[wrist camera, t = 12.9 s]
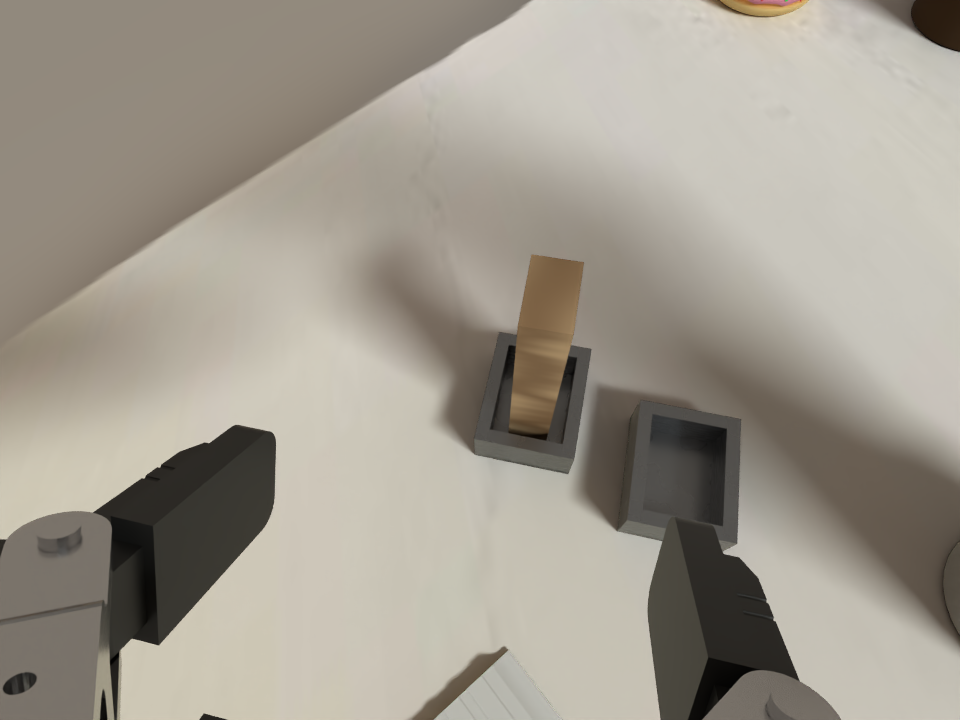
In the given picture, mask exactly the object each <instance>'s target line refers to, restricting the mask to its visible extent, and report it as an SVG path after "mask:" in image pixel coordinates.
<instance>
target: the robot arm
mask: <svg viewBox="0 0 960 720" xmlns="http://www.w3.org/2000/svg"><path fill="white" fill-rule="evenodd" d="M275 460H276V439H275V436H274V434H273V433H272V432H269V431H265V430H260V429H255V428H250V427H245V426H241V425H234V426H232V427H231V428H230V429H228V430H227V431H225V432H224V433H223V434H221V435H220V436H219V437H217V438H216V439H215V440H213V441H212V442H211V443H202V444H200V445H197V446H194V447H191V448H189V449H186V450H183V451H180V452H179V453H177V454H176V455H174V456H173V457H172V458H170V459H169V460H167V461H166V462H164V463H163V464H162V465H161V467H160V468H158V467H157V468H156V469H154V470H153V471H152V472H150V473H149V474H147V475H146V477H145V479H140V480H139V481H137V482H136V483H134V484H133V485H132V486H130V487H129V488H127V489H126V490H125V491H123V492H122V493H120V494H119V495H117V496H116V497H115V498H113V499H112V500H110V501H109V502H107V503H106V504H105V505H103V506H102V507H100V508H99V509H97V510H96V511H95V512H93V513H91V512H83V511H72V512H63V513H57V514H52V515H48V516H45V517H42V518H39V519H36V520H34V521H31V522H29V523H27V524H25V525H23V526H22V527H20V528H19V529H17V530H16V531H15V532H13V533H12V534H11V535H10V536H9V537H8V539H7V540H0V720H120V700H121V668H122V661H121V649H122V648H123V647H124V646H125V645H126V644H127V643H128V642H129V641H130V640H131V639H136V640H140V641H144V642H148V643H152V644H155V645H160V643H161V642H162V641H163V640H164V639H165V638H166V637H167V636H168V635H169V633H170V632H171V631H172V630H173V629H174V628H175V627H176V626H177V624H178V623H179V622H180V621H181V620H182V619H183V618H184V617H185V616H186V614H187V613H188V612H189V611H190V610H191V609H192V608H193V607H194V606H195V604H196V603H197V602H198V601H199V600H200V599H201V598H202V597H203V595H204V594H205V593H206V592H207V591H208V590H209V589H210V588H211V587H212V585H213V584H214V583H215V582H216V581H217V580H218V579H219V578H220V576H221V575H222V574H223V573H224V572H225V571H226V570H227V569H228V568H229V566H230V565H231V564H232V563H233V562H234V561H235V560H236V559H237V557H238V556H239V555H240V554H241V553H242V552H243V551H244V550H245V549H246V547H247V546H248V545H249V544H250V543H251V542H252V541H253V540H254V539H255V537H256V536H257V535H258V534H259V533H260V532H261V531H262V530H263V528H264V527H265V525H266V524H267V522H268V520H269V518H270V515H271V512H272V509H273V505H274V496H275ZM943 588H944V595H945V602H946V605H947V608H948V611H949V614H950V617H951V620H952V622H953V624H954V626H955V627H956V629H957V631H958V633H959V635H960V542H959V543H957V545H956V546H955V547H954V549H953V550H952V552H951V553H950V555H949V557H948V560H947V563H946V566H945V569H944V580H943ZM766 600H767V599H766V597H765V594H764V592H763V589H762V587H761V584H760V582H759V579H758V577H757V576H756V575H755V574H754V573H753V572H752V571H751V570H750V569H749V568H748V567H747V566H746V564H745V563H744V562H743V561H742V560H741V559H740V558H739V557H734V556H730V555H725V554H723V552H722V549H721V546H720V543H719V540H718V537H717V534H716V531H715V528H714V526H713V525H711V524H707V523H702V522H697V521H692V520H688V519H683V518H678V517H671V518H670V520H669V522H668V524H667V527H666V531H665V534H664V538H663V541H662V545H661V549H660V552H659V556H658V560H657V563H656V567H655V571H654V574H653V578H652V582H651V586H650V591H649V598H648V623H649V631H650V638H651V646H652V654H653V662H654V670H655V678H656V686H657V694H658V702H659V710H660V718H661V720H841V719H840V717H839V715H838V714H837V713H836V711H835V710H834V709H833V708H832V706H831V705H830V704H829V703H828V702H827V701H826V700H825V699H824V698H822V697H821V696H820V695H819V694H818V693H817V692H815V691H814V690H812V689H811V688H810V687H808V686H806V685H805V684H803V683H801V682H800V681H799V678H798V676H797V673H796V671H795V668H794V666H793V663H792V661H791V658H790V656H789V654H788V651H787V649H786V646H785V644H784V641H783V639H782V636H781V634H780V631H779V629H778V626H777V624H776V622H775V621H773V618H774V616H773V614H772V611H771V609H770V606H769V604H768V603H766ZM200 720H226V719H222V718H219V717H215V716H211V715H208V714H203V715H202V717H201V718H200Z"/></svg>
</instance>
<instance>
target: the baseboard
mask: <svg viewBox="0 0 960 720" xmlns="http://www.w3.org/2000/svg"><path fill="white" fill-rule="evenodd" d="M434 720H562V719H561V717H560V716H559V715H558V713H557V712H556V711H555V709H554V708H553V707H552V706H551V704H550V703H549V702H548V700H547V699H546V698H545V696H544V695H543V694H542V692H541V691H540V690H539V689H538V687H537V686H536V685H535V683H534V682H533V681H532V679H531V678H530V677H529V676H528V674H527V673H526V672H525V670H524V669H523V668H522V666H521V665H520V664H519V663H518V661H517V660H516V659H515V657H514V656H513V655H512V653H511V652H510V651H509V650H508V651H507V652H506V653H505V654H504V655H503V656H502V657H501V658H499V659H498V660H497V661H496V662H495V663H494V664H493V665H492V666H491V667H490V668H489V669H488V670H486V671H485V672H484V673H483V674H482V675H481V676H480V677H479V678H478V679H477V680H476V681H475V682H474V683H473V684H471V685H470V686H469V687H468V688H467V689H466V690H465V691H464V692H463V693H462V694H461V695H460V696H459V697H457V698H456V699H455V700H454V701H453V702H452V703H451V704H450V705H449V706H448V707H447V708H446V709H445V710H444V711H442V712H441V713H440V714H439V715H438V716H437V717H436V718H435V719H434Z"/></svg>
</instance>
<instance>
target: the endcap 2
mask: <svg viewBox="0 0 960 720" xmlns="http://www.w3.org/2000/svg"><path fill="white" fill-rule="evenodd" d="M740 431H741V419H737V418H732V417H727V416H722V415H717V414H712V413H706V412H701V411H696V410H691V409H686V408H681V407H675V406H670V405H665V404H660V403H655V402H650V401H644V400H640V402H639V404H638V405H637V407H636V409H635V411H634V412H633V414H632V416H631V418H630V427H629V435H628V444H627V452H626V461H625V470H624V478H623V487H622V495H621V504H620V512H619V521H618V530H617V531H619V532H623V533H628V534H633V535H637V536H642V537H646V538H651V539H656V540H660V541H663V538H664V534H665V531H666V527H667V524H668V522H669V520H670V518H671V517H678V518H683V519H688V520H692V521H697V522H702V523H707V524H711V525H713V526H714V528H715V531H716V534H717V537H718V540H719V543H720V546H721V549H722V551H724V550H726V549H728V548H730V547H732V546H734V545H736V544H737V533H738V499H739V465H740Z"/></svg>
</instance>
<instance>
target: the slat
mask: <svg viewBox="0 0 960 720" xmlns="http://www.w3.org/2000/svg"><path fill="white" fill-rule="evenodd" d="M583 265H584V262H578V261H571V260H565V259H558V258H551V257H545V256H538V255H531V260H530V265H529V271H528V276H527V281H526V286H525V291H524V297H523V302H522V307H521V312H520V317H519V323H518V330H517V341H516V353H515V364H514V375H513V386H512V398H511V409H510V420H509V431H508V433H510V434H515V435H520V436H525V437H530V438H535V439H539V440H544V441H546V440H547V436H548V432H549V429H550V425H551V421H552V417H553V413H554V409H555V405H556V401H557V397H558V393H559V389H560V386H561V382H562V378H563V374H564V370H565V366H566V362H567V358H568V354H569V350H570V346H571V343H572V339H573V335H574V328H575V321H576V314H577V307H578V300H579V293H580V286H581V279H582V272H583Z"/></svg>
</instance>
